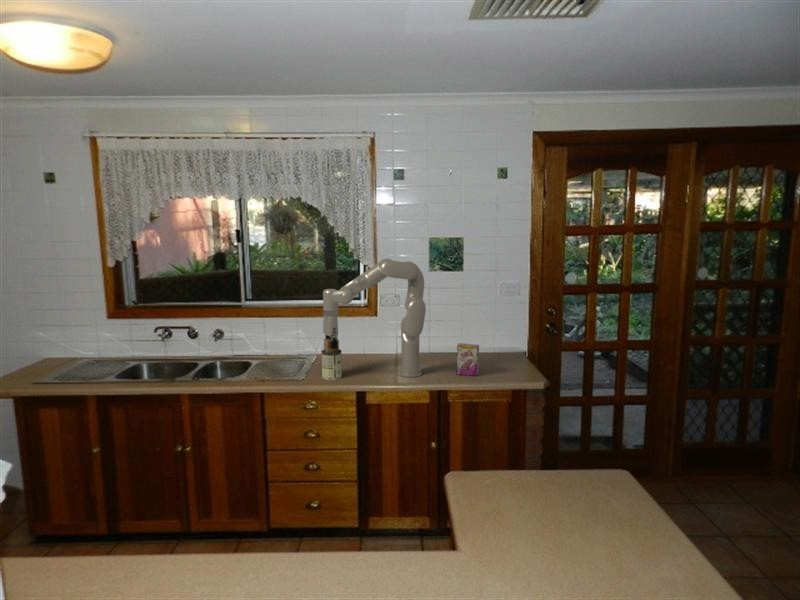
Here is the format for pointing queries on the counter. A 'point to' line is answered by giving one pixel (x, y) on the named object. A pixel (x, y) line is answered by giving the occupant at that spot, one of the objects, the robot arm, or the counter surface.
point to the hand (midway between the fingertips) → (331, 346)
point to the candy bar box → (467, 359)
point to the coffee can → (331, 365)
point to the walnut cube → (328, 346)
